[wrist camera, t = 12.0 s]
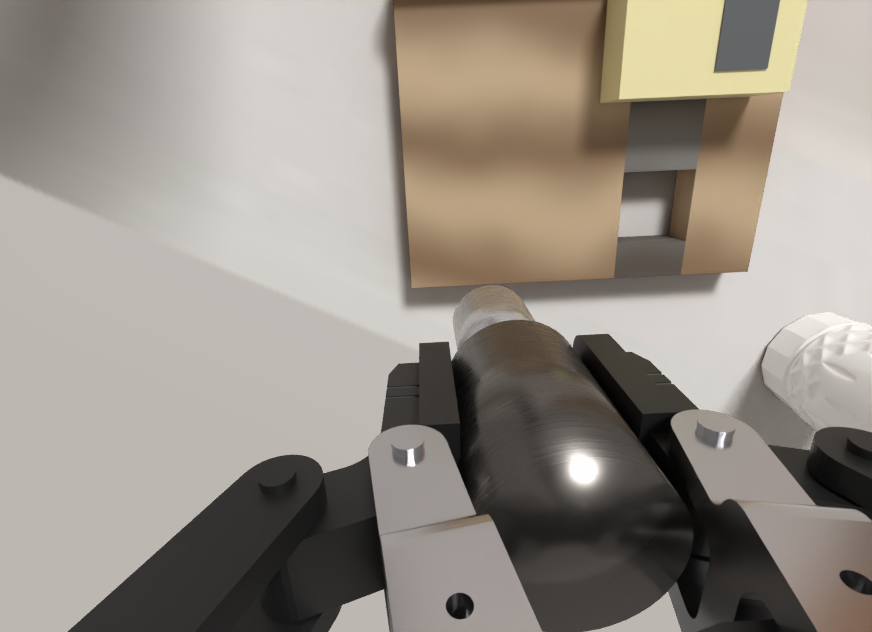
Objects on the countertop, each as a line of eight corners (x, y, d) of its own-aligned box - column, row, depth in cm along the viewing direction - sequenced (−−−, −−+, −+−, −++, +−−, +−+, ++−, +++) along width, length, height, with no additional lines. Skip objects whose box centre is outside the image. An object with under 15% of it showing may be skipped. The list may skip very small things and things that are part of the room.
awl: (438, 275, 14) (463, 469, 6) (541, 269, 14) (711, 454, 6) (442, 367, 15) (468, 639, 7) (538, 361, 16) (676, 625, 7)
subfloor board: (393, -25, 24) (389, -47, 21) (782, -41, 24) (830, -65, 21) (412, 278, 29) (411, 293, 26) (726, 263, 29) (759, 276, 27)
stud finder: (608, -11, 22) (631, -30, 20) (774, -19, 22) (817, -38, 20) (599, 103, 24) (620, 98, 22) (753, 96, 24) (790, 91, 22)
